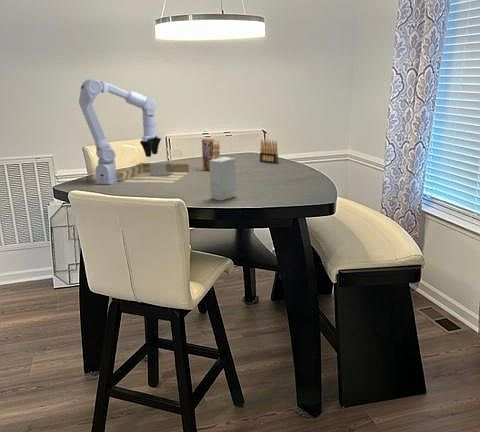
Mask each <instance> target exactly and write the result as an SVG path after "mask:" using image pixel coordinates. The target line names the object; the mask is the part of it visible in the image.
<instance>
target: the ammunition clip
mask: <svg viewBox="0 0 480 432" xmlns="http://www.w3.org/2000/svg"><path fill="white" fill-rule="evenodd" d="M259 163H263V164H273V165H278V164H279V153H278V142H277V140H276V139H275V140H274V139H272V141H271V139H269V140H268V139H260V152H259Z"/></svg>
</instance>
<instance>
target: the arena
mask: <svg viewBox="0 0 480 432" xmlns="http://www.w3.org/2000/svg"><path fill="white" fill-rule="evenodd" d="M151 163H152V162H140V163H138V164H135V165H133V166H131V167H128V168H127V169H124V170H122V171H120V172H119V179H120V180H119V182H120V183H166V184H169V183H170V184H171V183H172V184H173V183H175V182H177V181H178V180H180V179H181V178H182V177H185V176H186V175H187V174H189V173H190V163H180V162H179V163H175V162H174V163H173V162H172V163H171V162H169V163H170V167H171V174H169V175H167V176H162V175H150V168H149V164H151ZM153 163H154V162H153ZM163 163H164V162H163ZM163 163H162V162H161V163H160V162H157V163H156V162H155V163H154V164H163Z"/></svg>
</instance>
